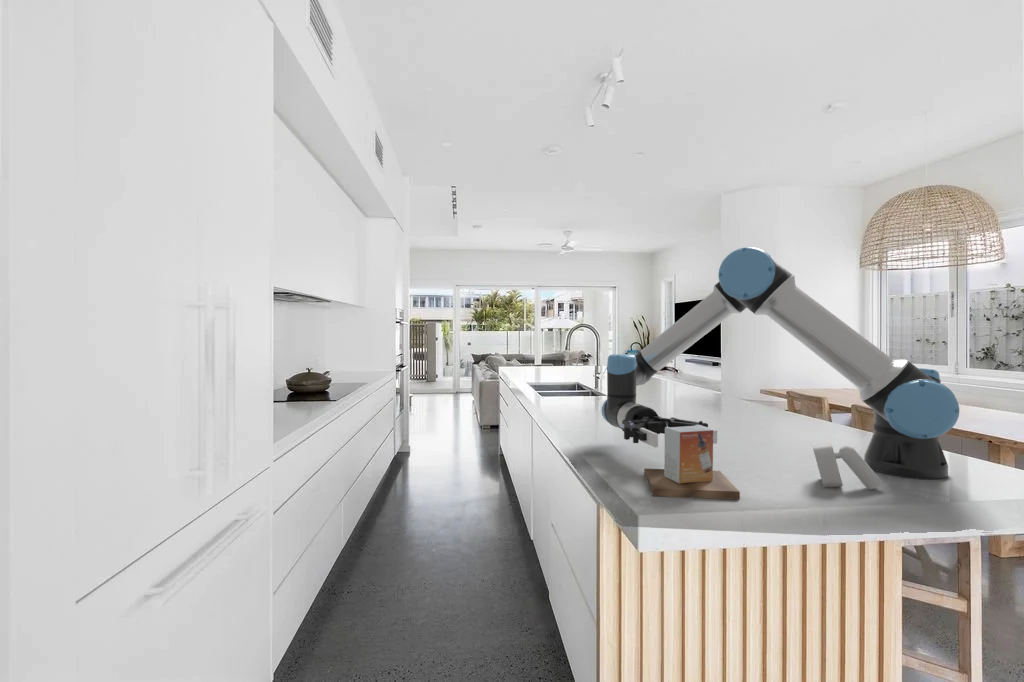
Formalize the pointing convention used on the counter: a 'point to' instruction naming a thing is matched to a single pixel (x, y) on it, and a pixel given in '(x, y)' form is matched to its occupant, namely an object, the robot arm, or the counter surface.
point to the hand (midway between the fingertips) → (686, 438)
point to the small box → (688, 454)
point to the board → (691, 486)
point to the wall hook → (850, 457)
